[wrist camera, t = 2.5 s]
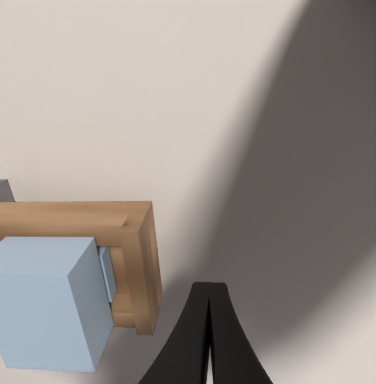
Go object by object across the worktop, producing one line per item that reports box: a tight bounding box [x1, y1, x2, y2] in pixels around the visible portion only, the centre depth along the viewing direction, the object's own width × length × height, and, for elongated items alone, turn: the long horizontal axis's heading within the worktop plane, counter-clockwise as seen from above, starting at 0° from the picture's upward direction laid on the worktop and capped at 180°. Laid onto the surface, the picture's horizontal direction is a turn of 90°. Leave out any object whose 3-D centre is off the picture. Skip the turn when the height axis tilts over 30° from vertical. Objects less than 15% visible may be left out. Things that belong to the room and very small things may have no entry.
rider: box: [0, 237, 117, 373], centre depth 12 cm, size 5×4×4 cm
